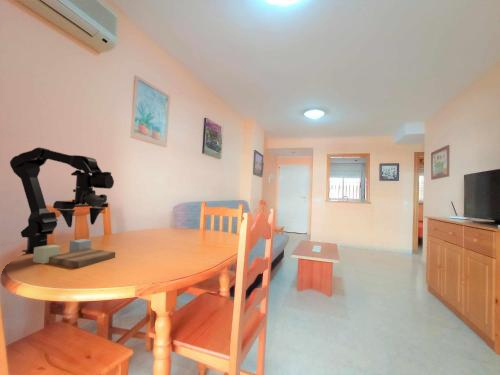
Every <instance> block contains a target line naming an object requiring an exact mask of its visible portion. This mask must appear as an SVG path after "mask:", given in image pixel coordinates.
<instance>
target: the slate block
mask: <svg viewBox="0 0 500 375" xmlns="http://www.w3.org/2000/svg"><path fill="white" fill-rule="evenodd" d="M68 247H69V248H68V249H69V250H68V253H69V252H73V251H78V250H82V249H87V248H91V249H92V240H91V239H85V238H81V239H75V240H70V241H69V246H68Z"/></svg>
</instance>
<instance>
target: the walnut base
mask: <svg viewBox="0 0 500 375" xmlns="http://www.w3.org/2000/svg"><path fill="white" fill-rule="evenodd" d="M115 258H116V251H114V252H113V251H108V250H102V249H97V248H92V247H91V248H87V249H82V250H78V251H73V252H69V251H68V252H65V253H59V255H55V256H50V257H49V262H48V263H49V264H54V265H59V266H60V265H61V266H66V267H71V268H76V269H82V268H85V267H88V266H92V265H95V264H98V263H101V262H102V263H103V262H105V261H108V260H111V259H115Z"/></svg>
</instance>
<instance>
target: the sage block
mask: <svg viewBox="0 0 500 375" xmlns="http://www.w3.org/2000/svg"><path fill="white" fill-rule="evenodd" d="M60 250H61V246H60V245H54V244H47V245H45V246H40V247H34V253H33V257H32V262H33V263H37V264H38V263H39V264H47V263H49V257H50V256H55V255H59V254H60V252H61V251H60Z"/></svg>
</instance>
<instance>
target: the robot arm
mask: <svg viewBox="0 0 500 375" xmlns="http://www.w3.org/2000/svg"><path fill="white" fill-rule="evenodd" d="M47 160H51V161H54V162H58V163H63V164H66V165H68V166H70V167H72V168H73V169H76V170H75V171H73V172H72V173H71V174H70V175H71V176H74V177H75V176H76V177H75V178H76V180H75V189H72V192H73V193H75V194H74V199H72V200H71V201H70V200H55V201H54V203H53V205H52V206H53V207H52V208H53V209H56V211H57V212H58V211H59V213H60V215H61V216H62V217H63V219H64V221H65V223H66V225H67V227H68V228H72V226H73V215H74V213H75V211H76V209H75V208H83V207H87V208H88V207H89V219H90V220H89V221H90V225H95V223H96V220H97V218H98V217H99V215H100V213H101V212H103V210H106V208H108V207H109V202H108V201H107V200H108V199H107V198H108V196H107V195H106V194H96V190H94V189H107V190H110V189H112V188H113V186H114V185H115V184H114V183H115V180H114V177H113V176H112V172H111V171H104V172H103V171H102V169H101V168H100V166H99V165H98V161H97V159H96V158H93V157H90V156H89V157H88V156H85V155H78V154H77V155H76V154H74V155H70V154H66V153H63V152H58V151H55V150H50V149H49V148H45V147H41V146H40V147H39V146H38V147H35V148H34V149H32V150H29V151H25V152H22V153H19V154H18V155H15V156H13V157H12V158H11V160H10V161H9V165H10V167H11V169H12V172H13V173H14V174H15V175H16V176H17V177H18V178H19V179H20V180H21V184H22V187H23V190H24V191H23V192H24V194H25V198H26V199H27V200H26V201H27V203H28V204H27V205H28V206H29V207H28V208H29V212H30V215H29V216H28V218H27V223H28V225H27V226H26V227H24V228H23V229H22V230H21V231H20V235H21V237H22V238H27V242H26V249H22V250H21V252H22V253H23V252H24V253H28V254H34V247H40V246H45V245H48V235H52V234H53V233H54V231H55V229H56V227H57V226H58V221H59V220H58V218H57V215H56V214H57V213H56V212H55V211H50V210H49V209H48V208H47V204H46V201H45V197H44V194H43V191H42V187H41V184H40V181H39V173H40V172H41V168H40V167H42V166H44V165H45V164H46V162H47Z"/></svg>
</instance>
